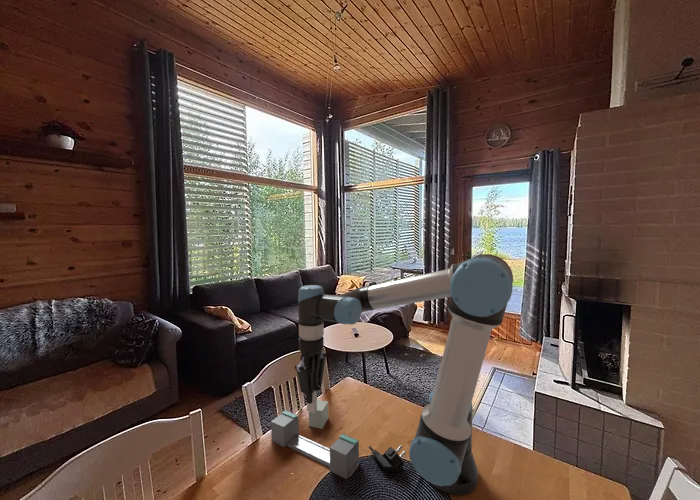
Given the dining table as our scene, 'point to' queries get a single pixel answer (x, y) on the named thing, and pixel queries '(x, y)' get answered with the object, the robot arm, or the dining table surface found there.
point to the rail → (314, 451)
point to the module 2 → (319, 415)
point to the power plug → (390, 459)
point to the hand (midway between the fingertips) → (312, 411)
